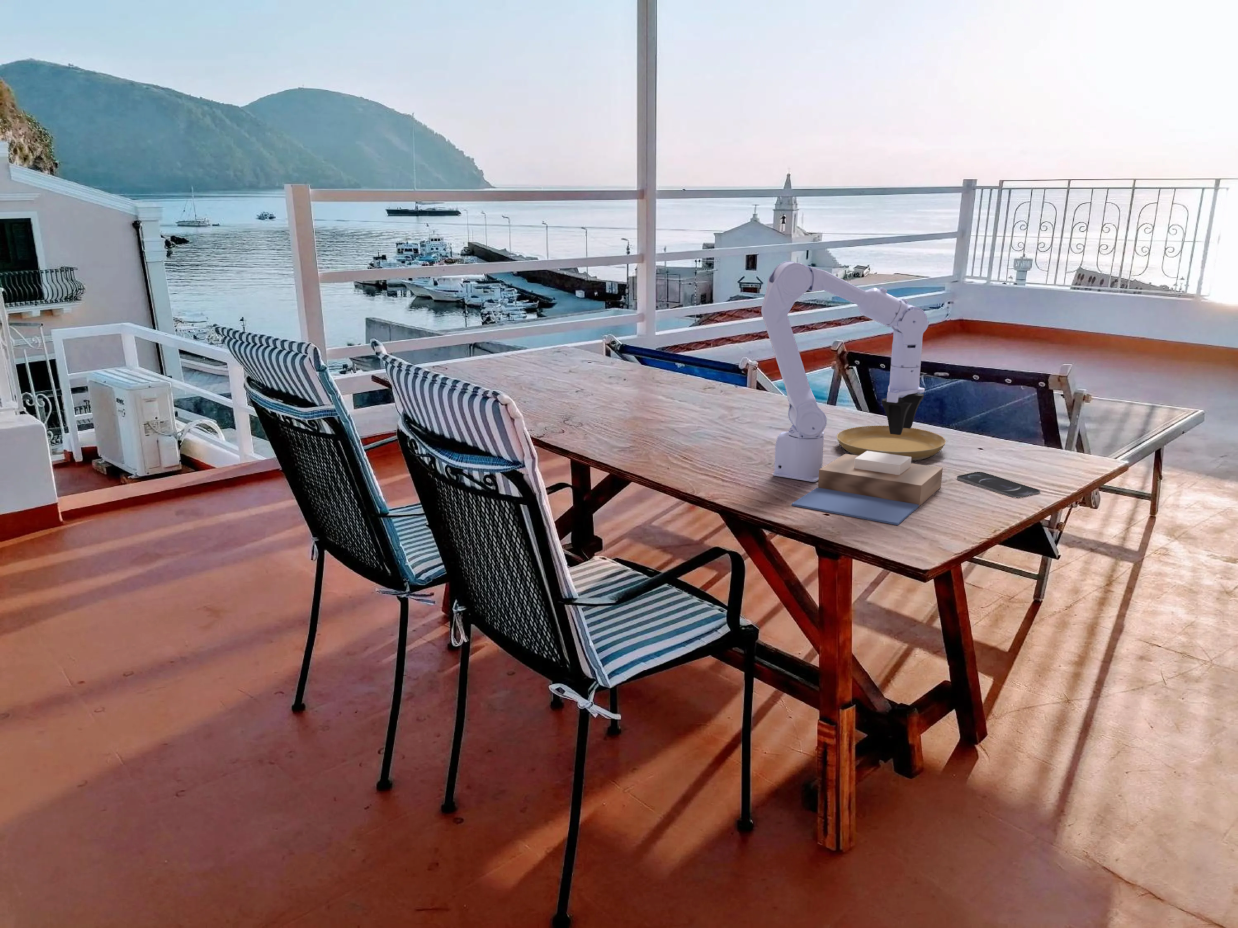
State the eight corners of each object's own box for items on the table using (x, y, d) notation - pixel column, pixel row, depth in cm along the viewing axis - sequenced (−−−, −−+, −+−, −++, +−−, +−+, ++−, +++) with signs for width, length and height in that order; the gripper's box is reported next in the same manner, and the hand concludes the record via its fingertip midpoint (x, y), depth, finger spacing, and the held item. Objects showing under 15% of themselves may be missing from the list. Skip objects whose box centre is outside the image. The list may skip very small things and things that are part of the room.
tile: (854, 468, 167) (854, 458, 166) (866, 460, 172) (867, 450, 172) (899, 475, 162) (900, 465, 161) (910, 466, 167) (911, 456, 167)
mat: (791, 505, 158) (791, 503, 158) (817, 489, 167) (817, 487, 167) (897, 525, 146) (898, 523, 146) (918, 506, 156) (918, 504, 156)
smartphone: (1016, 497, 159) (954, 476, 172) (1016, 501, 160) (953, 480, 172) (1043, 490, 162) (980, 471, 175) (1042, 495, 163) (979, 475, 176)
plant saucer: (880, 470, 180) (882, 455, 179) (815, 445, 202) (816, 431, 201) (968, 457, 189) (969, 443, 188) (896, 434, 210) (897, 421, 209)
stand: (818, 488, 167) (818, 469, 166) (844, 471, 178) (845, 453, 177) (919, 505, 156) (921, 485, 155) (940, 487, 167) (942, 467, 166)
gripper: (914, 372, 162) (909, 440, 165) (936, 362, 173) (930, 426, 177) (878, 369, 166) (873, 436, 169) (901, 359, 177) (897, 422, 181)
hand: (900, 431), depth 173 cm, fingers open, 6 cm apart
